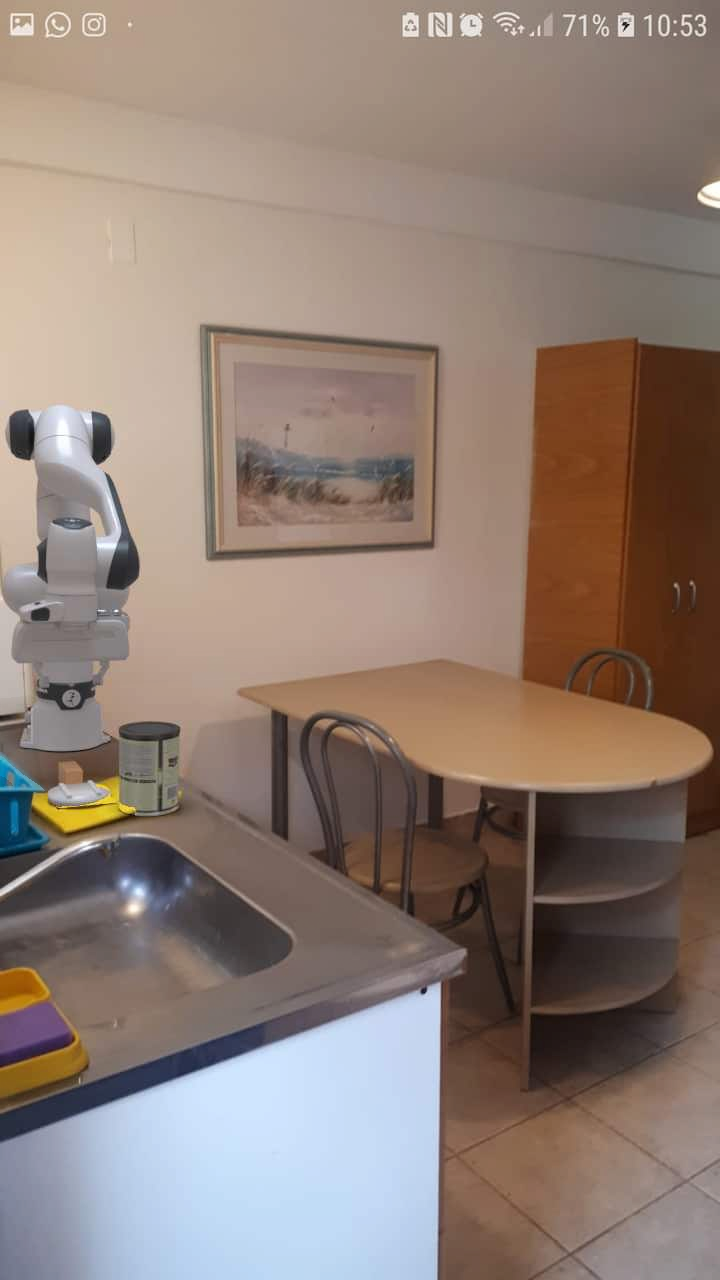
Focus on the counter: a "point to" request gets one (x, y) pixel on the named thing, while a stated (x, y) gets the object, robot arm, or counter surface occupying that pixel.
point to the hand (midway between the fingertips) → (71, 686)
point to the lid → (74, 787)
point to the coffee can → (149, 767)
